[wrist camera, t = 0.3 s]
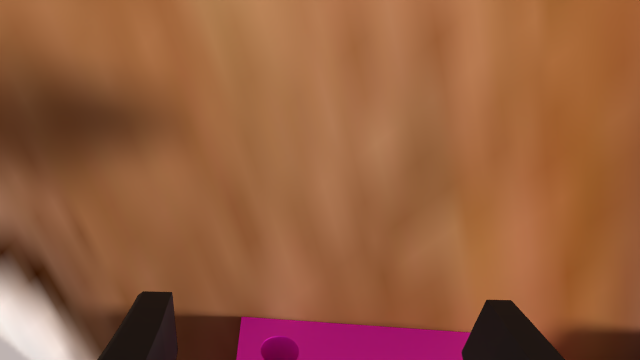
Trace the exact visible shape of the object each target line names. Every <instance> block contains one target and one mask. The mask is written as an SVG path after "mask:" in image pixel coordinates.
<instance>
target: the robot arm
mask: <svg viewBox="0 0 640 360" xmlns="http://www.w3.org/2000/svg"><path fill="white" fill-rule="evenodd" d="M177 351H178V347H177V337H176V326H175V316H174V306H173V296H172V292H142V293H140V294H139V295H138V296H137V298H136V300H135V302H134V303H133V305H132V307H131V309H130V310H129V312H128V314H127V315H126V317H125V319H124V320H123V322H122V324H121V325H120V327H119V328H118V330H117V331H116V333H115V335H114V336H113V338H112V339H111V341H110V342H109V344H108V345H107V347H106V348H105V350H104V351H103V353H102V354H101V355H100V357H99V358H98V360H176V357H177ZM461 353H462V357H463V360H565V359H564V358H563V357H562V356H561V355H560V354H559V352H558V351H557V350H556V349H555V348H554V347H553V346H552V345H551V344H550V343H549V341H548V340H547V339H546V338H545V337H544V336H543V335H542V334H541V333H540V331H539V330H538V329H537V328H536V327H535V326H534V325H533V324H532V323H531V321H530V320H529V319H528V318H527V317H526V316H525V315H524V314H523V313H522V312H521V310H520V309H519V308H518V307H517V306H516V305H515V304H514V303H513V302H512V301H511V300H486V302H485V304H484V306H483V308H482V311H481V313H480V315H479V317H478V319H477V321H476V323H475V325H474V327H473V329H472V331H471V333H470V335H469V337H468V339H467V341H466V344H465V346H464V348H463V350H462V352H461Z"/></svg>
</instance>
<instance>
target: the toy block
mask: <svg viewBox="0 0 640 360" xmlns="http://www.w3.org/2000/svg"><path fill="white" fill-rule="evenodd" d="M469 335H470V333H468V332H454V331H439V330H425V329H410V328H396V327H382V326H367V325H353V324H338V323H324V322H310V321H295V320H281V319H266V318H252V317H242V318H241V326H240V334H239V342H238V350H237V358H236V360H463V357H462V353H461V352H462V350H463V348H464V346H465V344H466V341H467V339H468V337H469Z"/></svg>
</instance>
